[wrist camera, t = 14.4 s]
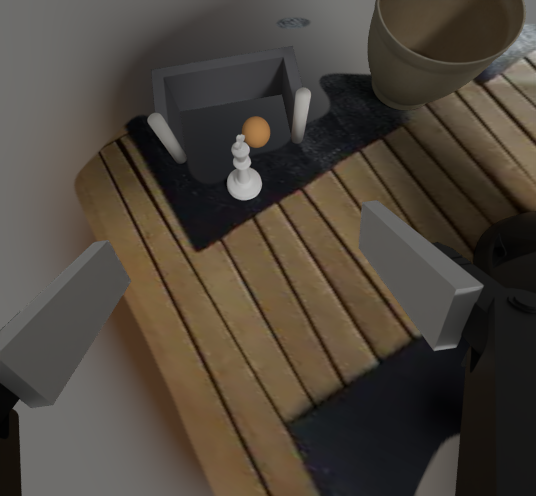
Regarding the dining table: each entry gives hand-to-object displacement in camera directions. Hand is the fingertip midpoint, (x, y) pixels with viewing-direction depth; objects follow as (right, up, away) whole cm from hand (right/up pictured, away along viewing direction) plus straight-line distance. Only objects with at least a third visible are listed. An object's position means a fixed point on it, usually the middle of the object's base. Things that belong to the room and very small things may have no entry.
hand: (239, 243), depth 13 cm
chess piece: (-2, +9, +22) cm, 24 cm away
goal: (-3, +18, +24) cm, 31 cm away
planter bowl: (+22, +25, +25) cm, 42 cm away
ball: (0, +16, +22) cm, 27 cm away
